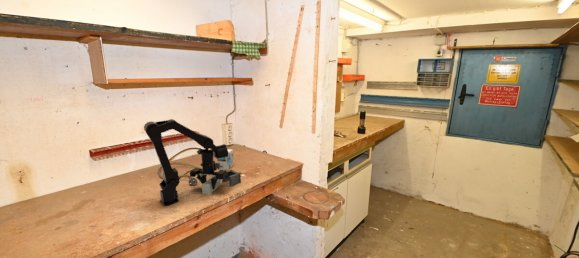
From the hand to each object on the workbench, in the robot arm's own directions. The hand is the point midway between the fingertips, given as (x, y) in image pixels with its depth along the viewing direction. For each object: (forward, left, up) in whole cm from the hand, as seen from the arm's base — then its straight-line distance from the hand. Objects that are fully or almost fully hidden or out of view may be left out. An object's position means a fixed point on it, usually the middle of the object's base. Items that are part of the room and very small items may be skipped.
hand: (209, 188), depth 134 cm
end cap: (+13, 0, -1) cm, 13 cm away
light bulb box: (+25, +22, -1) cm, 33 cm away
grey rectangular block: (+2, +1, -1) cm, 2 cm away
